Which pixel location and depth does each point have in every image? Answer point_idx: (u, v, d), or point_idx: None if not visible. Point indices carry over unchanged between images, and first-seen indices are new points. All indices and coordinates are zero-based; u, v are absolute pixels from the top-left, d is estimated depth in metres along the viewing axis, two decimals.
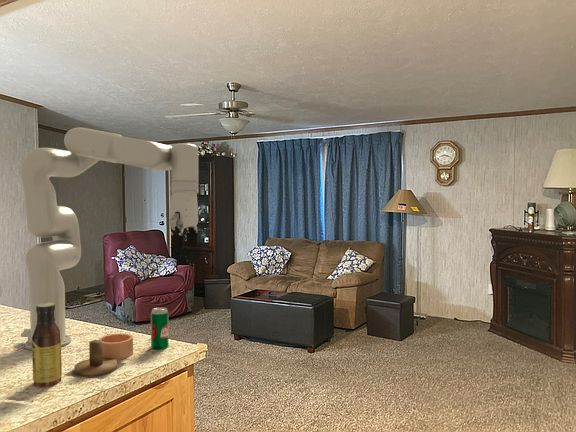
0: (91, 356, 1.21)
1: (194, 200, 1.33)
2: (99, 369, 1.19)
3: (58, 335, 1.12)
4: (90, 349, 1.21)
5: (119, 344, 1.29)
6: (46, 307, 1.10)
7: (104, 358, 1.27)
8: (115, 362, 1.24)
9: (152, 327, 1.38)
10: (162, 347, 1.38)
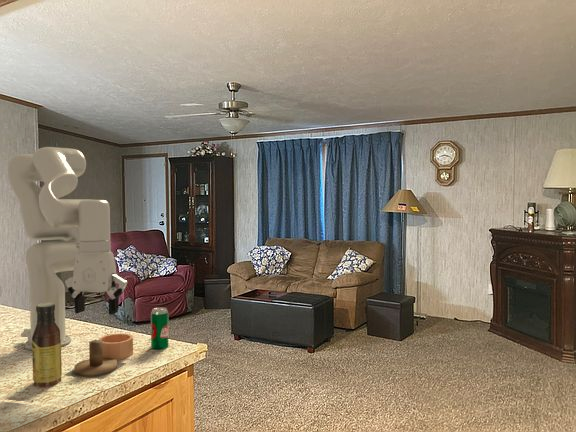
0: (91, 356, 1.21)
1: None
2: (99, 369, 1.19)
3: (58, 335, 1.12)
4: (90, 349, 1.21)
5: (119, 344, 1.29)
6: (46, 307, 1.10)
7: (104, 358, 1.27)
8: (115, 362, 1.24)
9: (152, 327, 1.38)
10: (162, 347, 1.38)
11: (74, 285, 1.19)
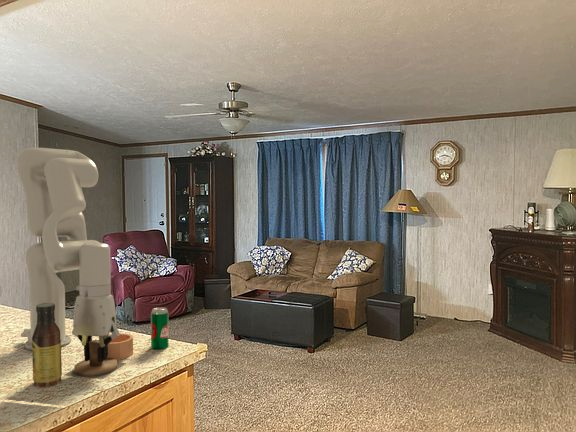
0: (91, 356, 1.21)
1: None
2: (99, 369, 1.19)
3: (58, 335, 1.12)
4: (90, 349, 1.21)
5: (119, 344, 1.29)
6: (46, 307, 1.10)
7: None
8: (115, 362, 1.24)
9: (152, 327, 1.38)
10: (162, 347, 1.38)
11: (74, 328, 1.20)
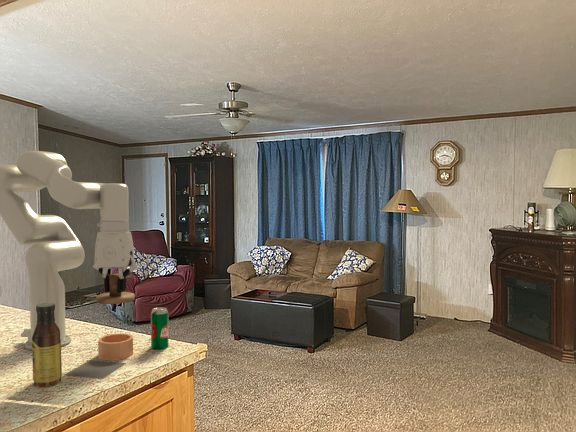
0: (111, 287, 1.31)
1: None
2: (118, 298, 1.29)
3: (58, 335, 1.12)
4: (110, 281, 1.31)
5: (119, 344, 1.29)
6: (46, 307, 1.10)
7: (122, 292, 1.37)
8: (133, 294, 1.34)
9: (152, 327, 1.38)
10: (162, 347, 1.38)
11: (95, 261, 1.30)
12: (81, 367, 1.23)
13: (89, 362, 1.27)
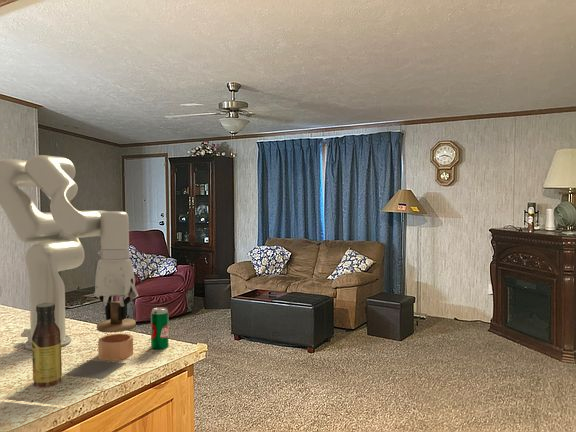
0: (112, 315, 1.31)
1: None
2: (120, 326, 1.29)
3: (58, 335, 1.12)
4: (111, 308, 1.31)
5: (119, 344, 1.29)
6: (46, 307, 1.10)
7: None
8: (134, 321, 1.34)
9: (152, 327, 1.38)
10: (162, 347, 1.38)
11: (96, 289, 1.31)
12: (81, 367, 1.23)
13: (89, 362, 1.27)
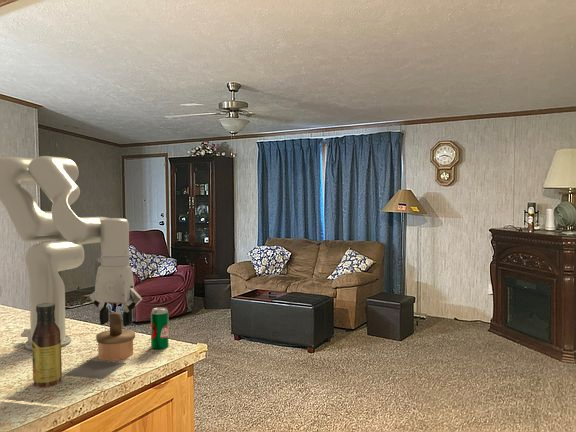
0: (111, 326, 1.31)
1: None
2: (119, 338, 1.30)
3: (58, 335, 1.12)
4: (110, 320, 1.32)
5: (119, 344, 1.29)
6: (46, 307, 1.10)
7: (123, 329, 1.38)
8: (133, 332, 1.35)
9: (152, 327, 1.38)
10: (162, 347, 1.38)
11: (96, 296, 1.31)
12: (81, 367, 1.23)
13: (89, 362, 1.27)
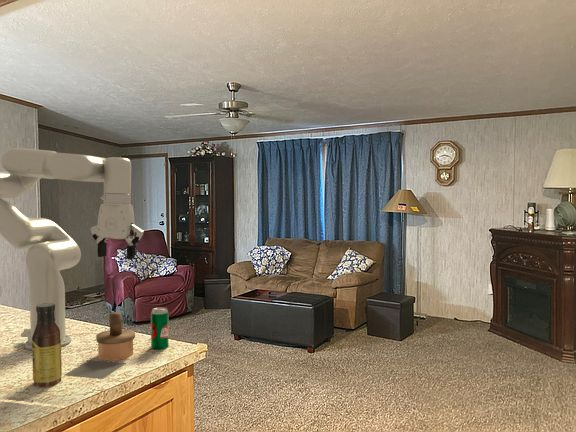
0: (111, 326, 1.31)
1: None
2: (119, 338, 1.30)
3: (58, 335, 1.12)
4: (110, 320, 1.32)
5: (119, 344, 1.29)
6: (46, 307, 1.10)
7: (123, 329, 1.38)
8: (133, 332, 1.35)
9: (152, 327, 1.38)
10: (162, 347, 1.38)
11: (98, 232, 1.36)
12: (81, 367, 1.23)
13: (89, 362, 1.27)
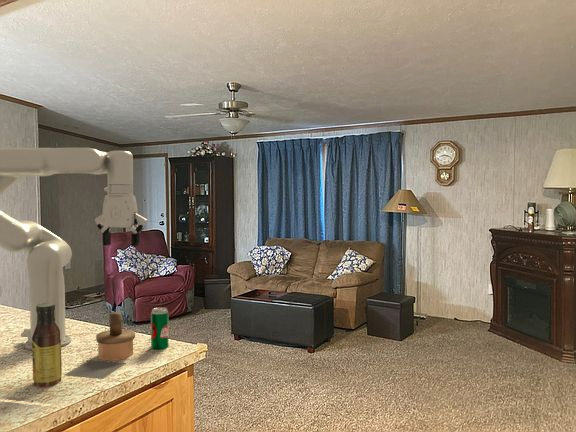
0: (111, 326, 1.31)
1: None
2: (119, 338, 1.30)
3: (58, 335, 1.12)
4: (110, 320, 1.32)
5: (119, 344, 1.29)
6: (46, 307, 1.10)
7: (123, 329, 1.38)
8: (133, 332, 1.35)
9: (152, 327, 1.38)
10: (162, 347, 1.38)
11: (103, 221, 1.44)
12: (81, 367, 1.23)
13: (89, 362, 1.27)
